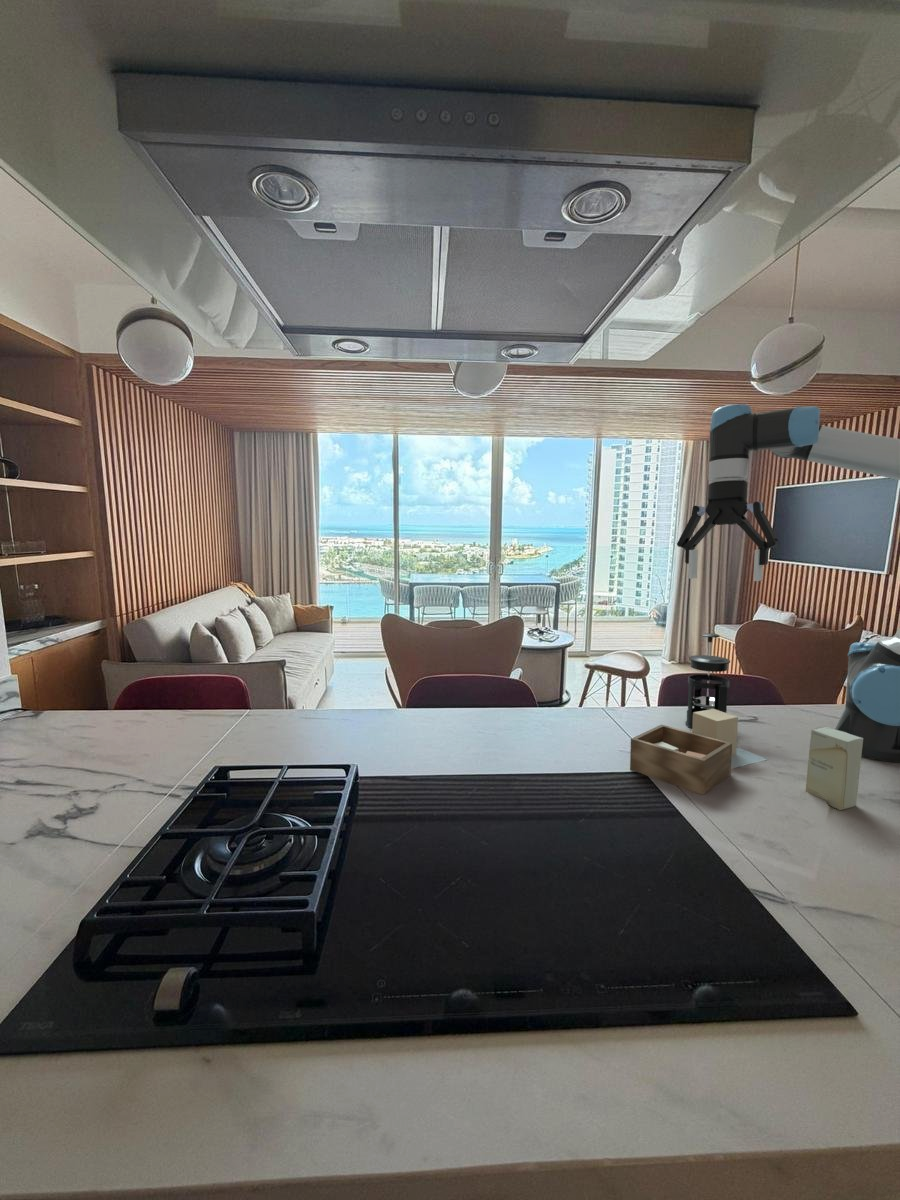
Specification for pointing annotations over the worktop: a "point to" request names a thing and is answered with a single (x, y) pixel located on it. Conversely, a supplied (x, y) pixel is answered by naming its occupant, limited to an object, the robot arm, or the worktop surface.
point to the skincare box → (834, 766)
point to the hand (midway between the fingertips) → (723, 579)
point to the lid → (723, 733)
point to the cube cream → (666, 746)
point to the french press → (721, 689)
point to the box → (681, 758)
